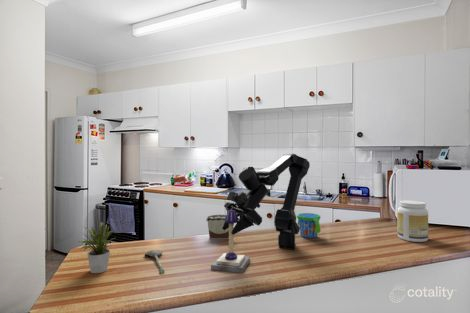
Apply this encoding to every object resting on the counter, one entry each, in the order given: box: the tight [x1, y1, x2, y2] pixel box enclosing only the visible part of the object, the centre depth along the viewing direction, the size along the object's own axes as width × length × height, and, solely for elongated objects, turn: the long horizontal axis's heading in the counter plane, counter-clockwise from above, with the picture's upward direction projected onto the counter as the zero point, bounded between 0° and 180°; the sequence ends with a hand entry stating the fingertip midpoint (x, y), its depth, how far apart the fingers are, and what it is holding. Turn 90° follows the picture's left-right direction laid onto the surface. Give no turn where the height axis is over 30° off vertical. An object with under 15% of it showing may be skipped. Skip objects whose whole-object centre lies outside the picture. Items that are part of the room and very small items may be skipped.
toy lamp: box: [225, 210, 239, 260], centre depth 104 cm, size 5×5×17 cm
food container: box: [206, 214, 229, 240], centre depth 139 cm, size 12×6×10 cm, turn 84°
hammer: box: [144, 249, 166, 274], centre depth 107 cm, size 22×3×7 cm
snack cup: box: [296, 212, 322, 239], centre depth 139 cm, size 16×10×10 cm
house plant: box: [77, 221, 116, 274], centre depth 100 cm, size 14×14×16 cm
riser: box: [210, 252, 251, 274], centre depth 104 cm, size 11×11×2 cm
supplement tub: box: [396, 199, 429, 243], centre depth 135 cm, size 12×12×17 cm
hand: (227, 231), depth 103 cm, fingers open, 6 cm apart
